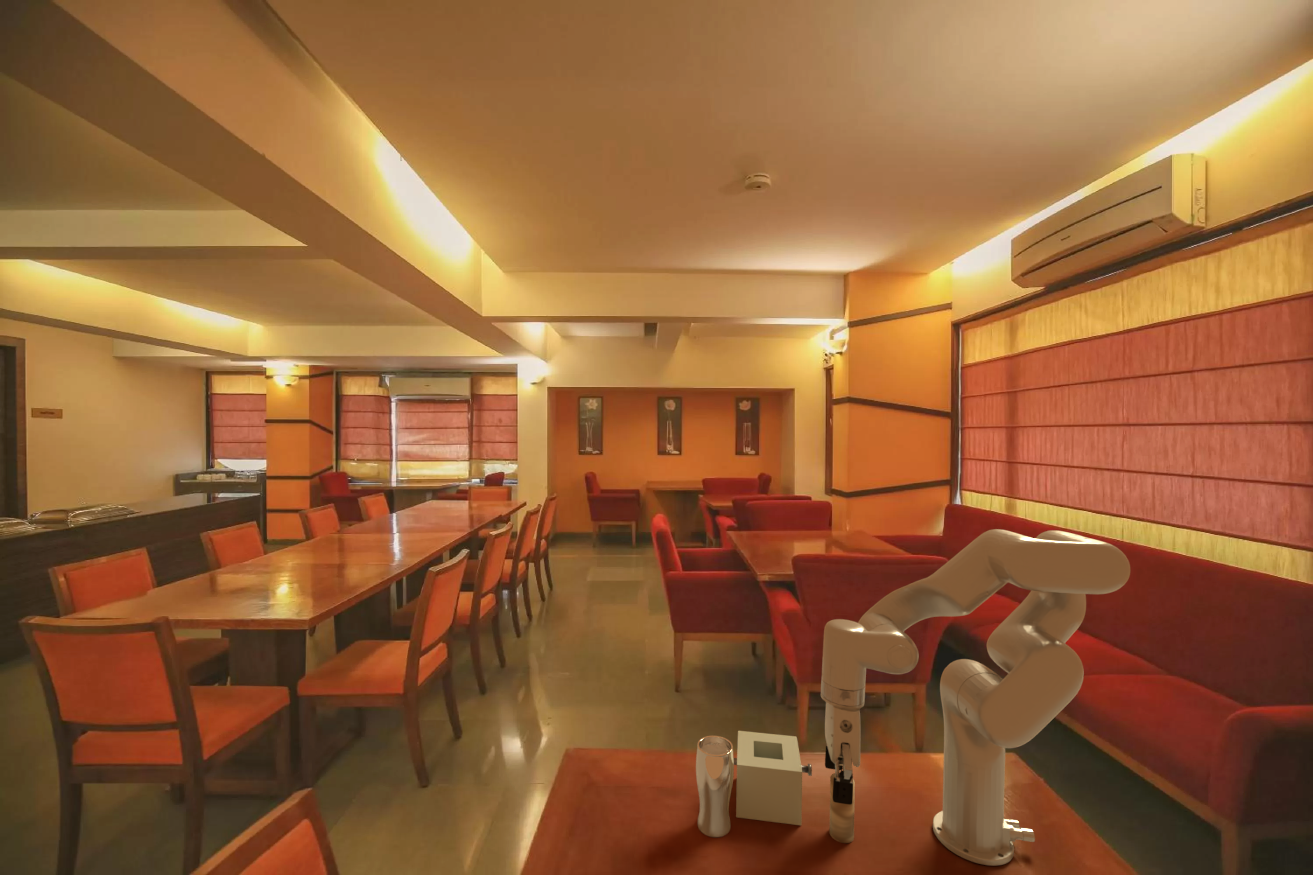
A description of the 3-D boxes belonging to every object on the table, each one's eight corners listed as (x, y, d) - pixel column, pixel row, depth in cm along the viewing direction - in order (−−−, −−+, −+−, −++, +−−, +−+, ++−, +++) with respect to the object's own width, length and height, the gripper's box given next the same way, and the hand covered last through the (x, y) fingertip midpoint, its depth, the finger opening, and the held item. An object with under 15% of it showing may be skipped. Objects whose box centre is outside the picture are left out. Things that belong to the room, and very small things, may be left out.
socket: (795, 784, 114) (796, 736, 114) (801, 825, 102) (802, 771, 102) (737, 777, 116) (738, 730, 116) (736, 816, 104) (736, 764, 104)
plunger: (777, 775, 107) (778, 763, 107) (777, 768, 110) (777, 756, 110) (811, 779, 106) (812, 767, 106) (810, 771, 109) (810, 759, 108)
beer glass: (731, 842, 97) (732, 758, 97) (692, 835, 99) (693, 753, 99) (734, 815, 104) (735, 737, 104) (697, 809, 106) (698, 732, 105)
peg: (851, 827, 101) (852, 773, 101) (855, 844, 97) (856, 788, 97) (828, 824, 102) (828, 771, 102) (831, 841, 98) (832, 785, 98)
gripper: (875, 718, 90) (869, 821, 90) (855, 673, 107) (850, 759, 108) (827, 712, 92) (822, 813, 92) (815, 668, 109) (811, 754, 109)
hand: (837, 784), depth 100 cm, fingers open, 9 cm apart
